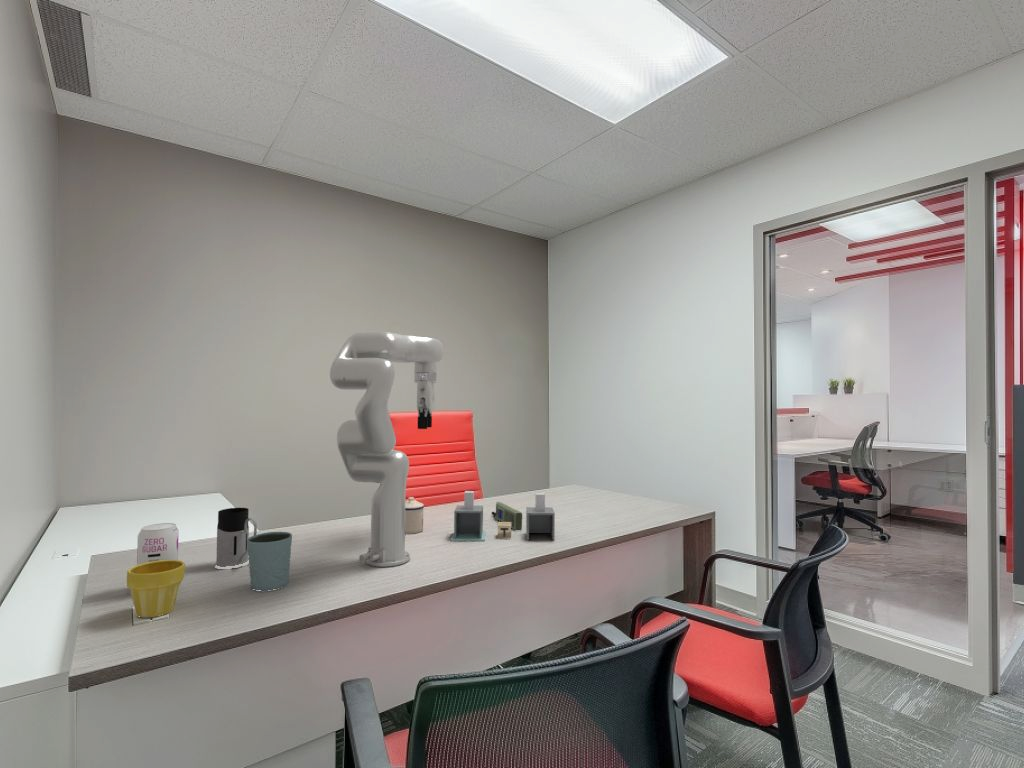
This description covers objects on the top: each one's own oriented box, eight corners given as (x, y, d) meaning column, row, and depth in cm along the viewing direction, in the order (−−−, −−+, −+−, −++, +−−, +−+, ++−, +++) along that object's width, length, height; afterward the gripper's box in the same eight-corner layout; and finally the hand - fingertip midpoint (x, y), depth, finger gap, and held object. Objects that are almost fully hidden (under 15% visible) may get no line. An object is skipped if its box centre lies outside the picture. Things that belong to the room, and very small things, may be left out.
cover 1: (481, 538, 169) (481, 494, 169) (454, 538, 169) (454, 494, 169) (482, 531, 178) (483, 489, 178) (456, 531, 178) (457, 489, 178)
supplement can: (170, 580, 131) (171, 520, 131) (182, 587, 126) (183, 526, 126) (131, 589, 125) (133, 526, 125) (142, 597, 119) (144, 532, 120)
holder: (237, 557, 149) (238, 505, 150) (269, 565, 143) (270, 511, 143) (207, 566, 142) (208, 511, 142) (239, 575, 135) (240, 517, 135)
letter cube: (511, 539, 171) (511, 525, 171) (497, 538, 171) (497, 525, 171) (511, 535, 176) (511, 522, 176) (498, 535, 176) (498, 522, 176)
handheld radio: (514, 531, 181) (488, 516, 204) (522, 531, 182) (496, 516, 205) (515, 512, 181) (489, 499, 204) (523, 512, 183) (497, 499, 206)
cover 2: (554, 540, 169) (554, 496, 170) (527, 540, 169) (527, 496, 169) (552, 533, 178) (552, 491, 178) (526, 533, 178) (526, 491, 178)
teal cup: (297, 585, 127) (298, 537, 128) (253, 596, 121) (254, 544, 121) (282, 575, 135) (283, 529, 135) (240, 584, 128) (241, 536, 128)
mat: (484, 541, 168) (484, 539, 168) (450, 541, 168) (450, 539, 168) (486, 532, 179) (486, 530, 179) (454, 532, 179) (454, 530, 179)
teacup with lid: (428, 531, 180) (428, 498, 180) (404, 535, 174) (405, 501, 175) (412, 524, 189) (412, 492, 190) (389, 528, 184) (389, 495, 184)
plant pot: (175, 598, 119) (176, 555, 119) (190, 611, 112) (191, 565, 112) (120, 612, 111) (121, 566, 111) (132, 626, 104) (134, 578, 105)
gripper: (432, 377, 169) (431, 429, 169) (439, 379, 186) (439, 426, 186) (409, 377, 169) (409, 429, 169) (418, 379, 186) (418, 426, 186)
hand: (424, 428), depth 177 cm, fingers open, 9 cm apart
